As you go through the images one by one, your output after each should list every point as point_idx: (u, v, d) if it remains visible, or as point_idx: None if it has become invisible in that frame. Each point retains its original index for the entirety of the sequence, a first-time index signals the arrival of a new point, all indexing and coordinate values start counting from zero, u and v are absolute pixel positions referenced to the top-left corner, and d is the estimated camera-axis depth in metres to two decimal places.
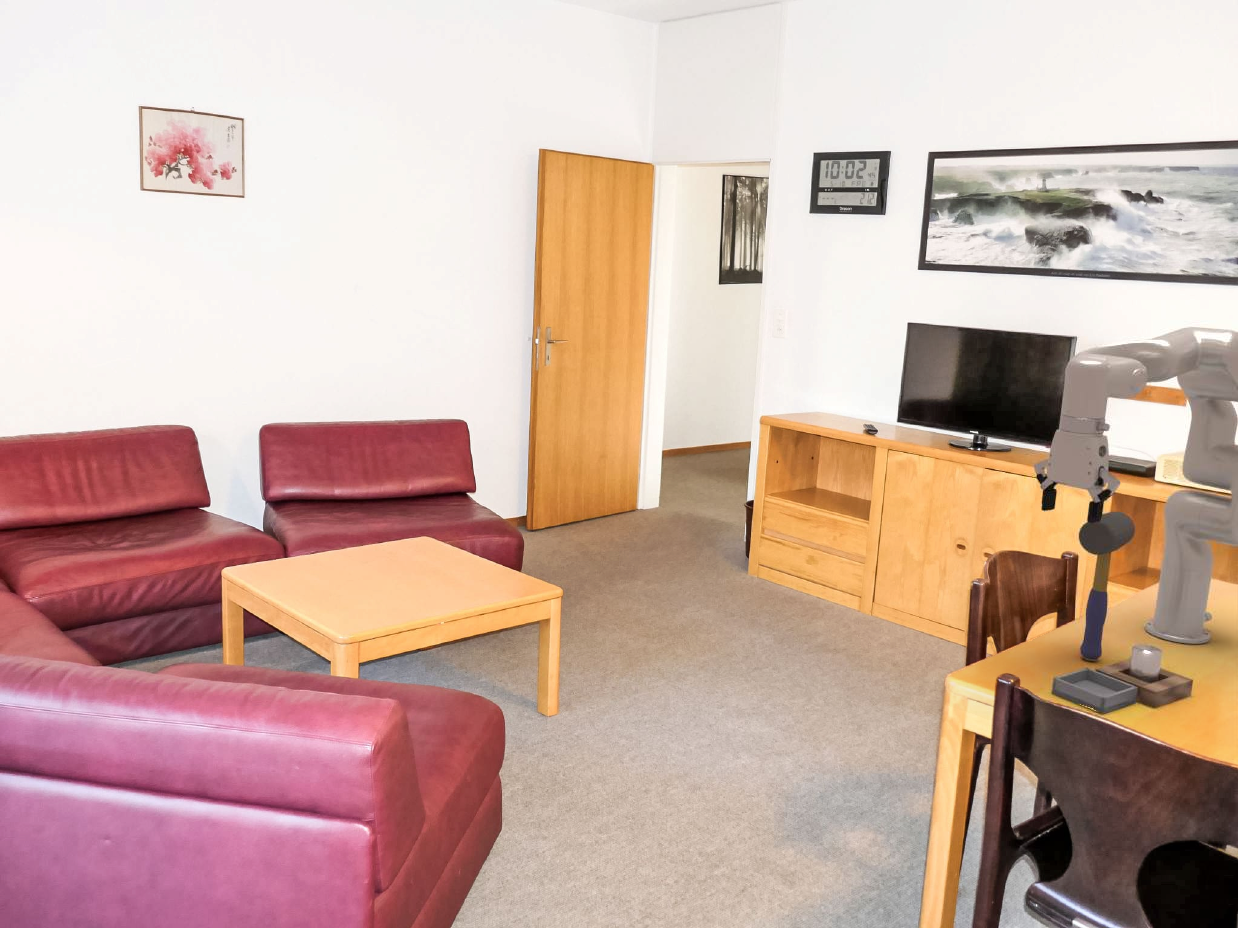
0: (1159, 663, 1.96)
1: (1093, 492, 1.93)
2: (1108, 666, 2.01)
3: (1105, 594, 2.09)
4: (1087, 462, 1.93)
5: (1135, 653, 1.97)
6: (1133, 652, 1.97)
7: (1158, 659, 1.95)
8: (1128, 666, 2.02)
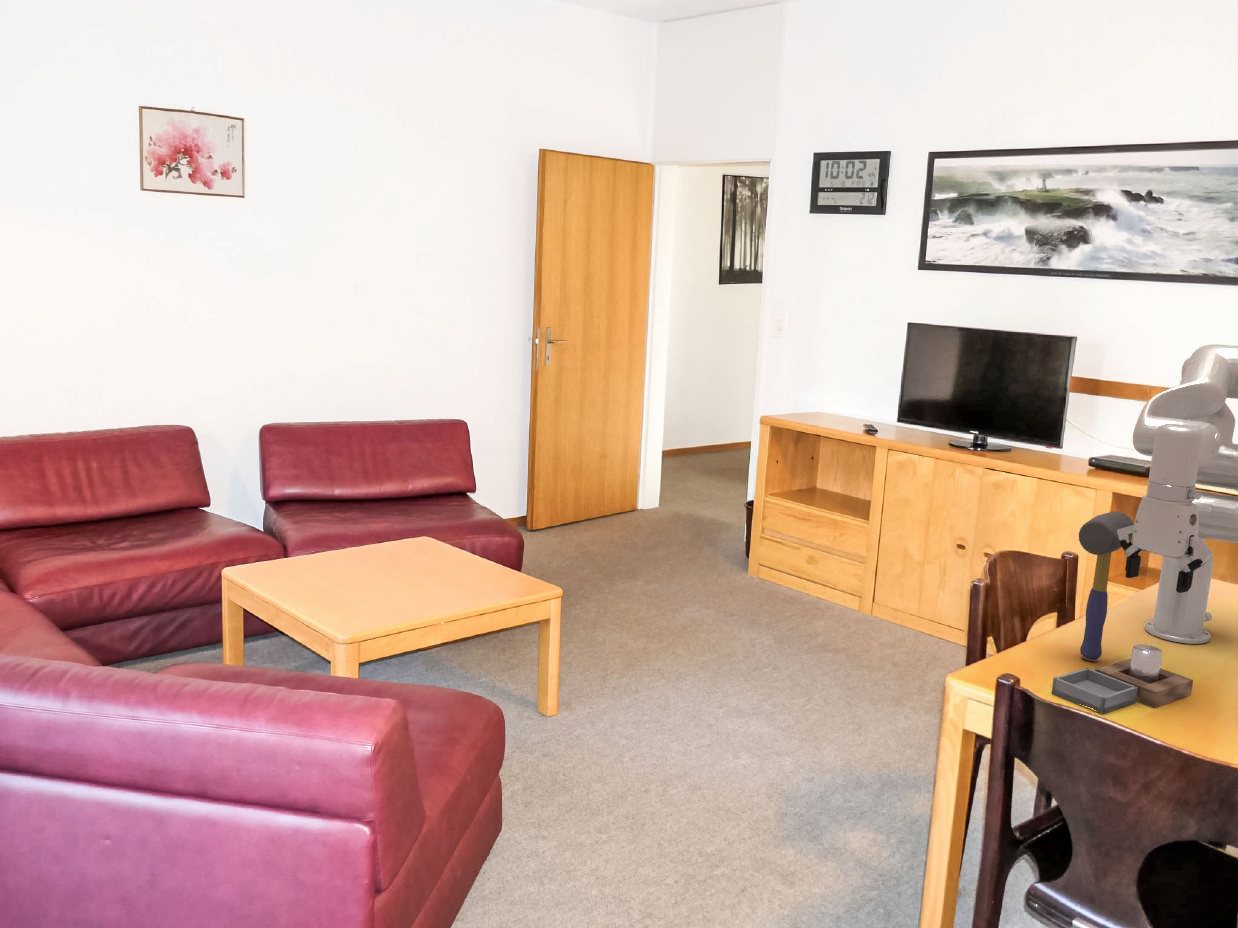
0: (1159, 663, 1.96)
1: (1183, 561, 1.88)
2: (1108, 666, 2.01)
3: (1105, 594, 2.09)
4: (1177, 531, 1.88)
5: (1135, 653, 1.97)
6: (1133, 652, 1.97)
7: (1158, 659, 1.95)
8: (1128, 666, 2.02)
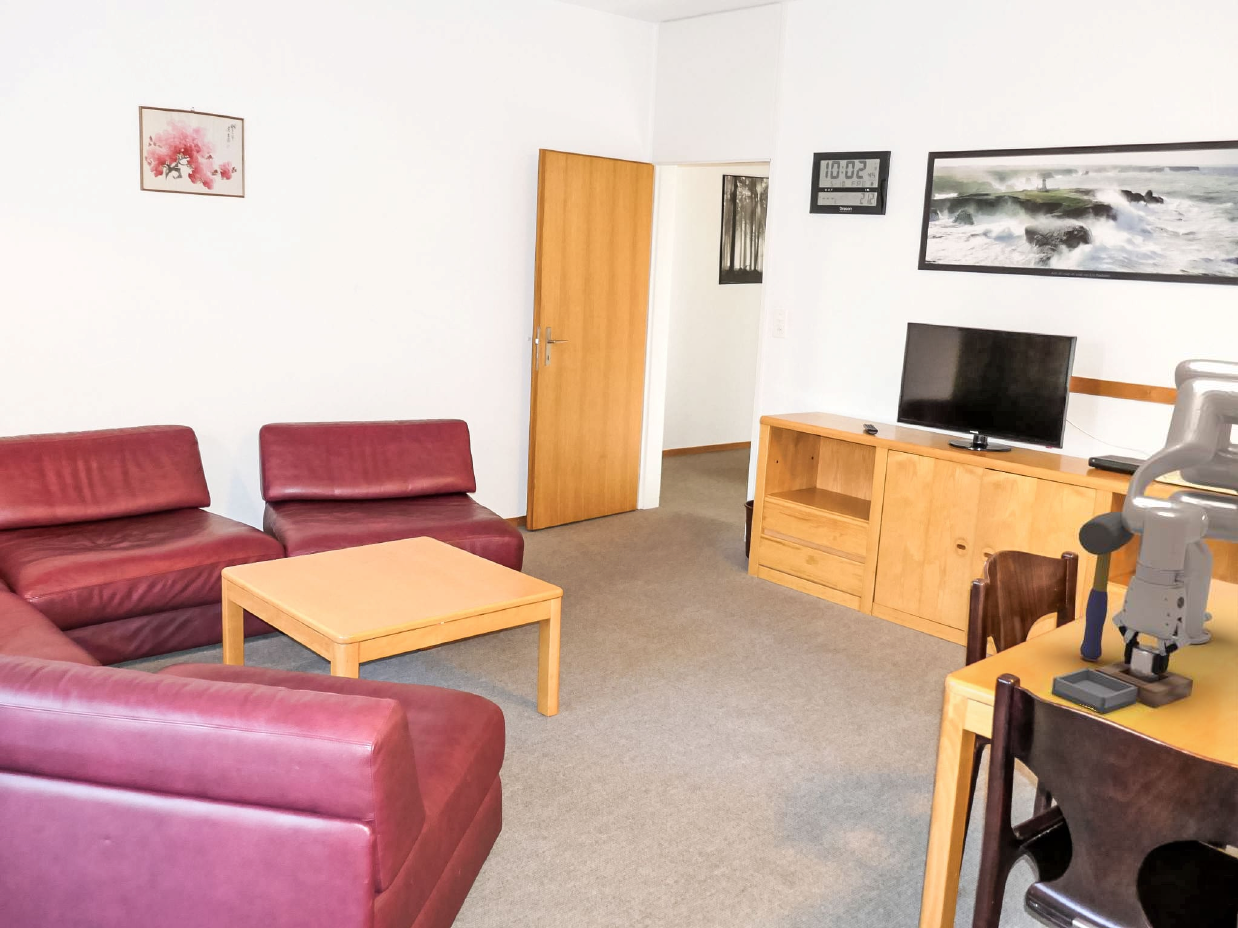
0: None
1: (1162, 645, 1.93)
2: (1108, 666, 2.01)
3: (1105, 594, 2.09)
4: (1165, 613, 1.91)
5: (1135, 653, 1.97)
6: (1133, 652, 1.97)
7: None
8: (1128, 666, 2.02)
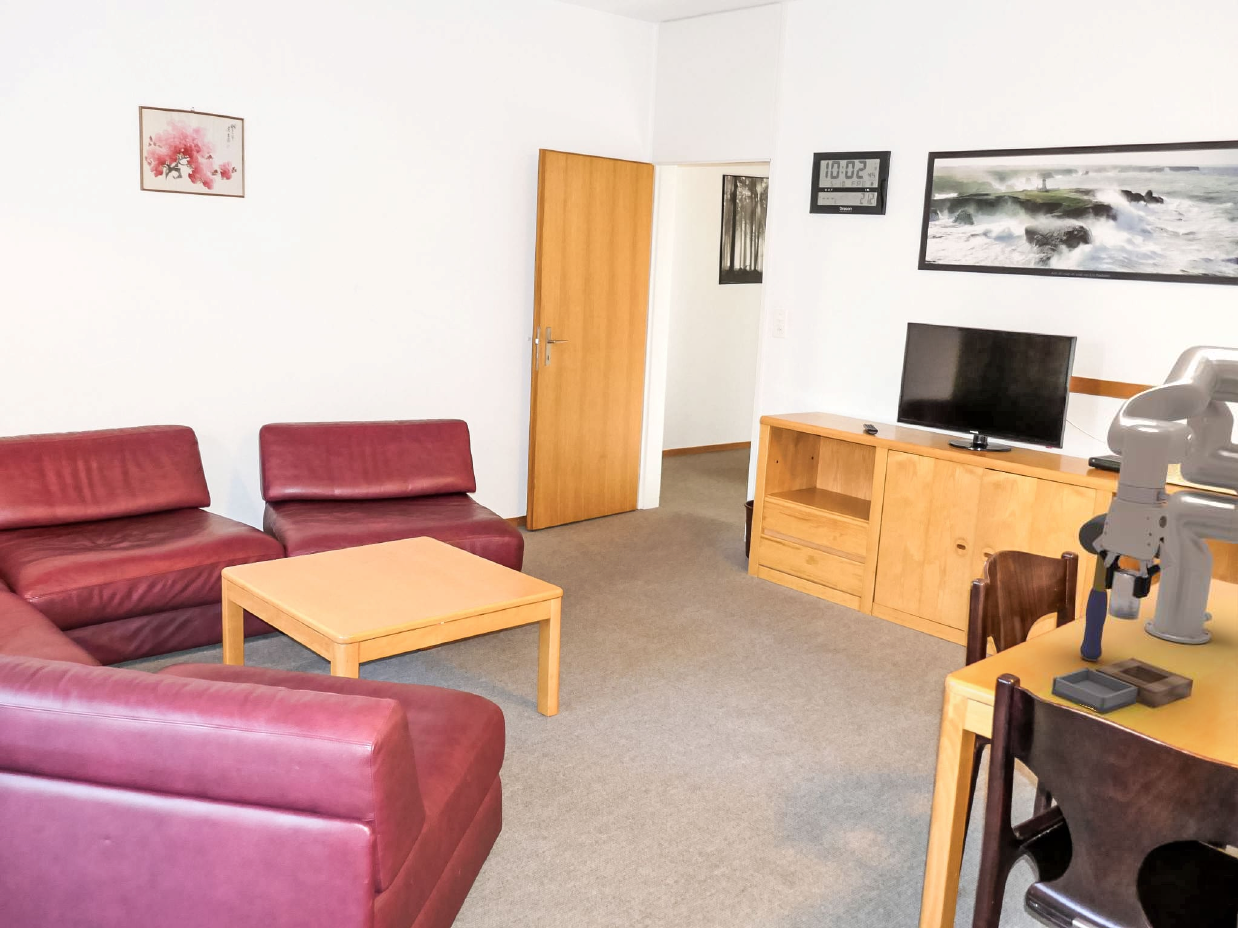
0: None
1: (1144, 567, 1.87)
2: (1108, 666, 2.01)
3: (1105, 594, 2.09)
4: (1147, 533, 1.85)
5: (1116, 576, 1.90)
6: (1114, 576, 1.91)
7: None
8: (1128, 666, 2.02)
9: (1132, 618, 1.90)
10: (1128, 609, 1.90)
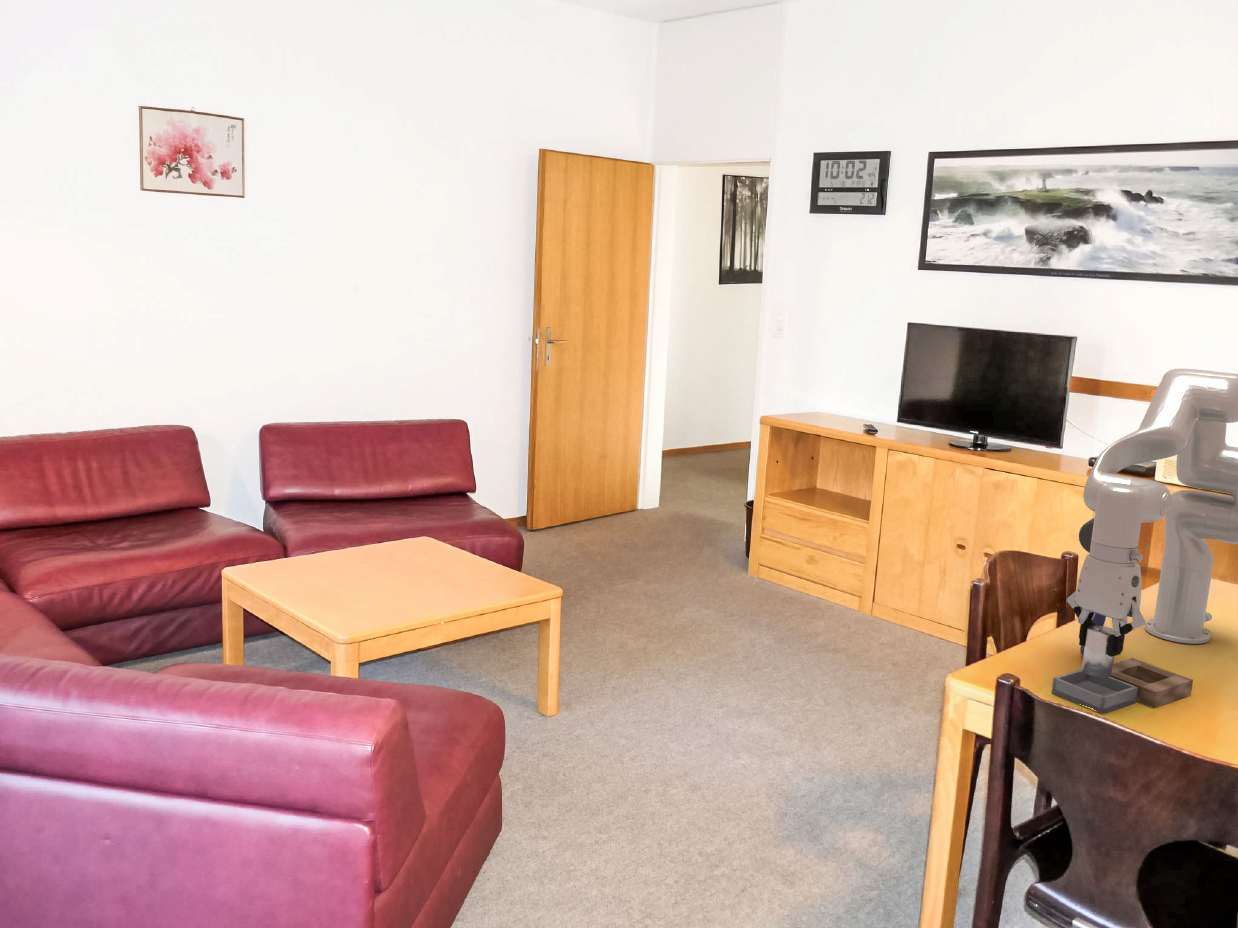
0: None
1: (1117, 626, 1.87)
2: None
3: None
4: (1119, 592, 1.85)
5: (1089, 633, 1.91)
6: (1087, 633, 1.91)
7: None
8: (1128, 666, 2.02)
9: (1105, 676, 1.90)
10: (1101, 667, 1.90)
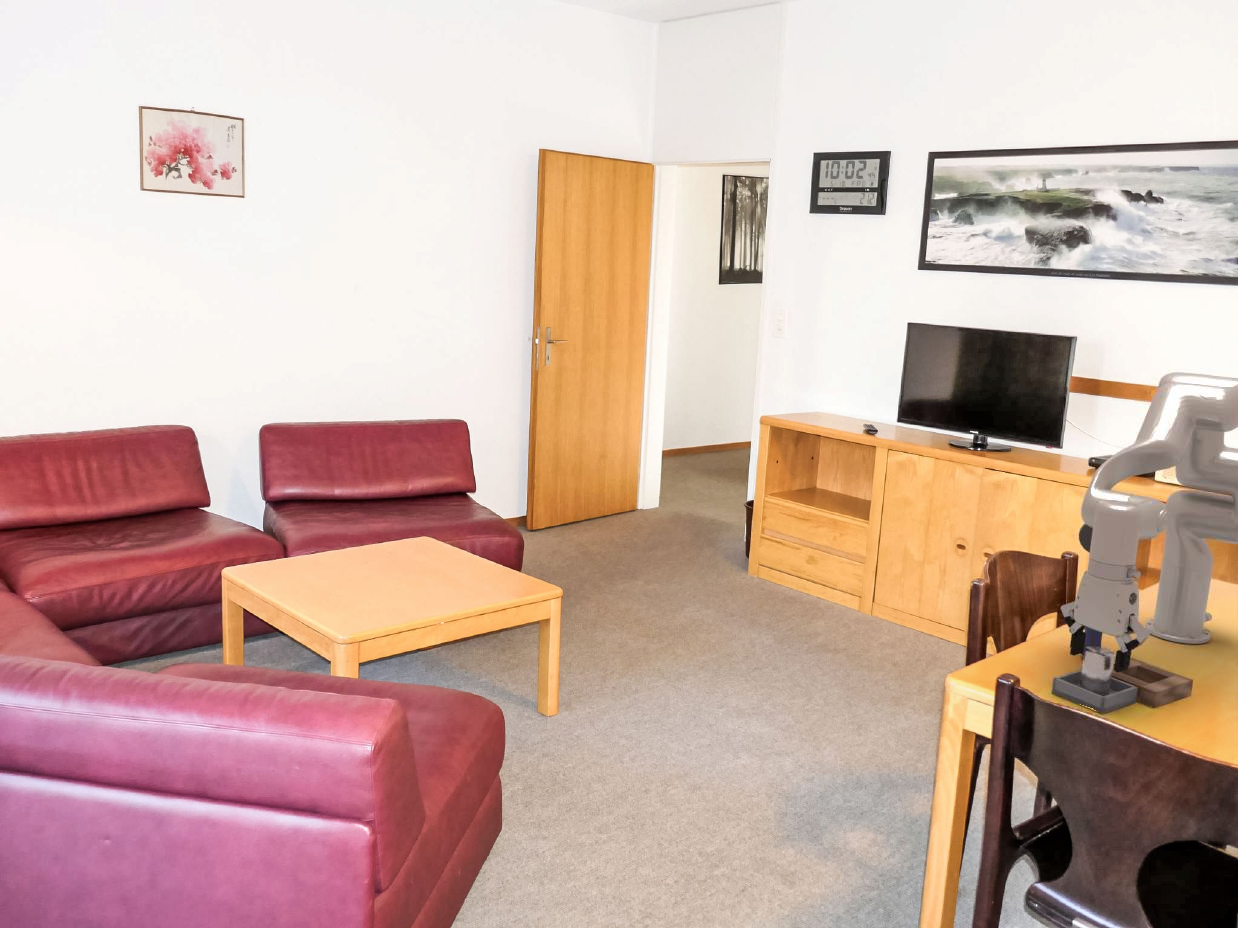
0: (1111, 666, 1.91)
1: (1121, 641, 1.87)
2: None
3: None
4: (1117, 609, 1.86)
5: (1087, 655, 1.92)
6: (1085, 654, 1.92)
7: (1110, 661, 1.90)
8: None
9: None
10: (1098, 688, 1.91)
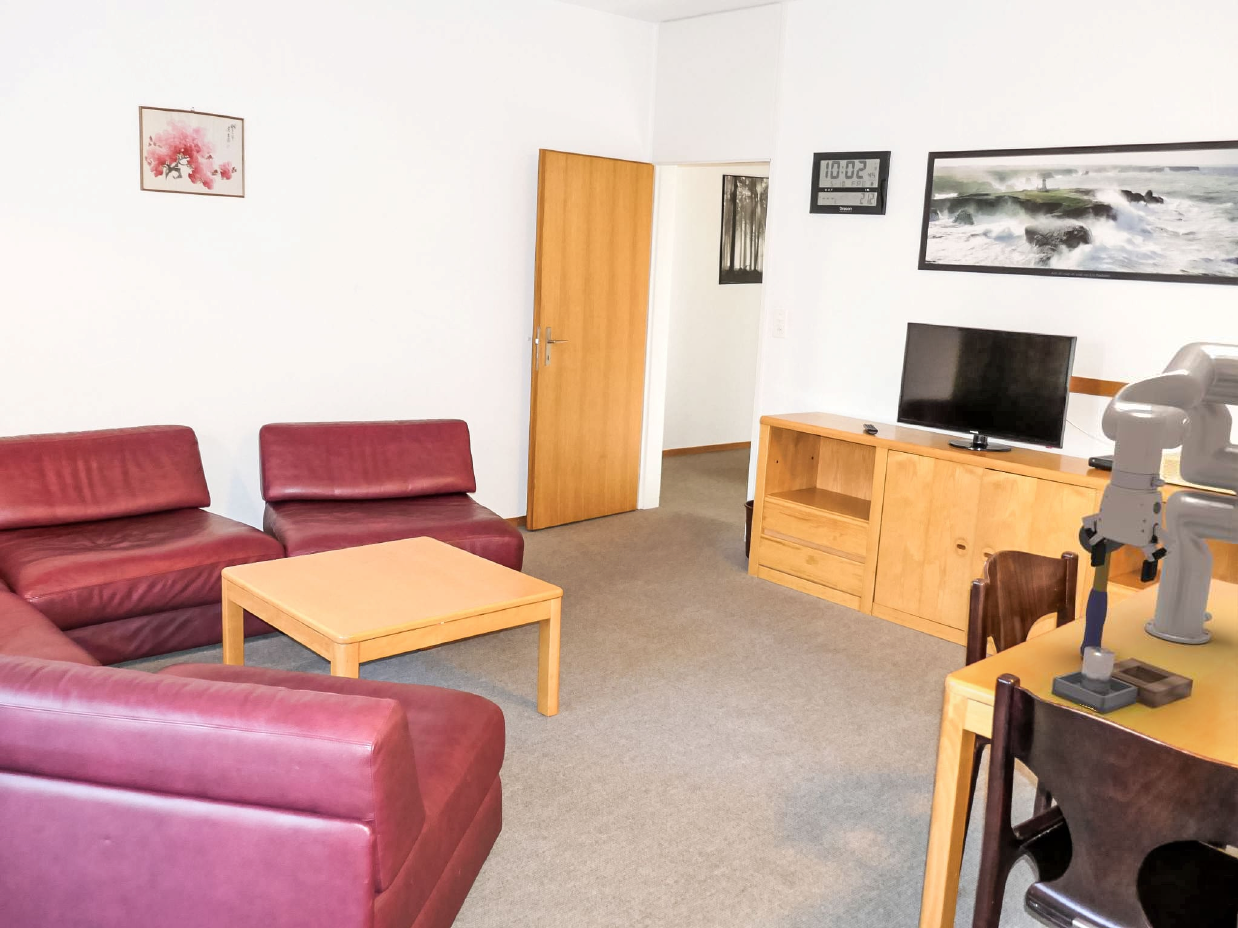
0: (1111, 666, 1.91)
1: (1147, 550, 1.84)
2: None
3: (1105, 594, 2.09)
4: (1141, 519, 1.83)
5: (1087, 655, 1.92)
6: (1085, 654, 1.92)
7: (1110, 661, 1.90)
8: (1128, 666, 2.02)
9: None
10: (1098, 688, 1.91)
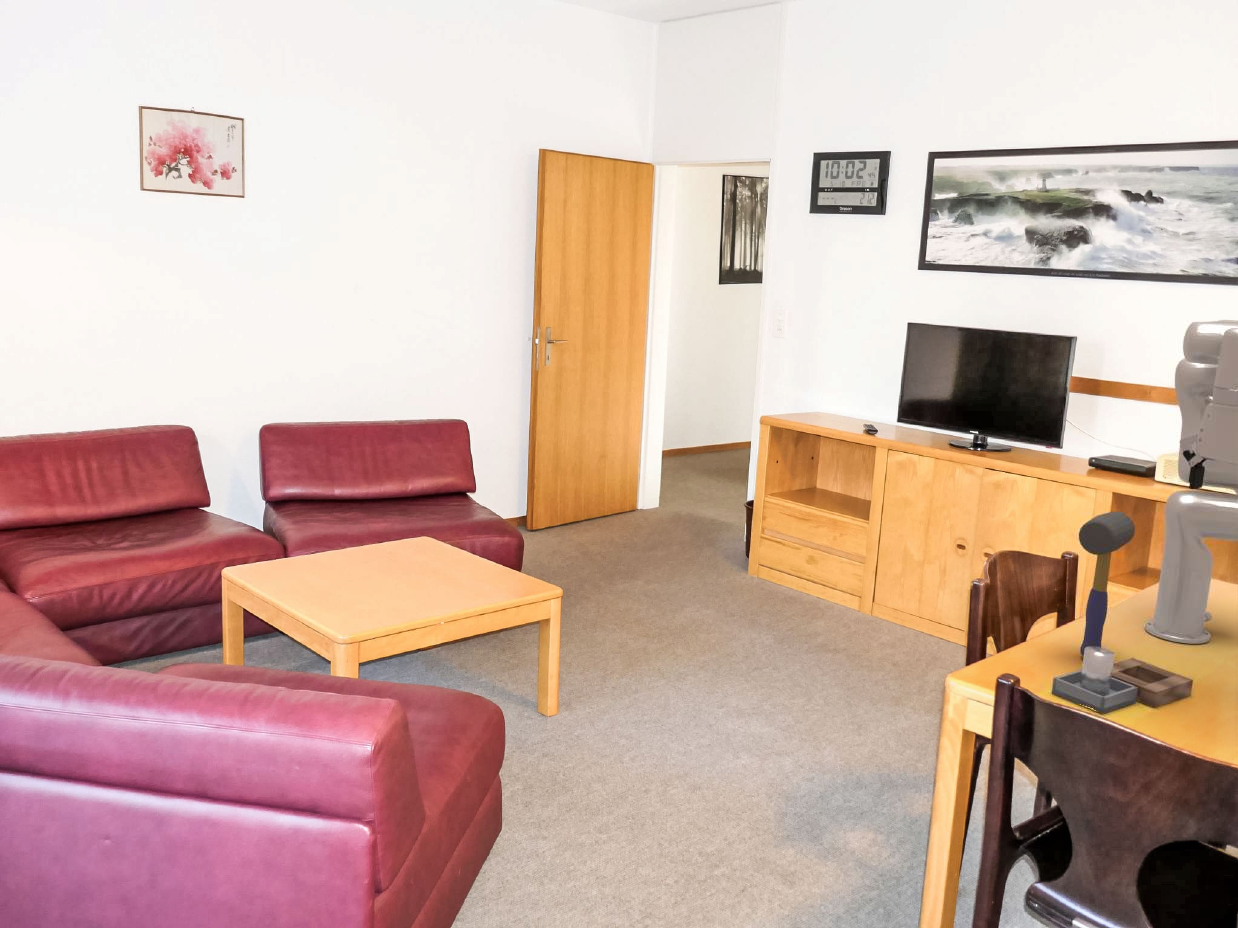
0: (1111, 666, 1.91)
1: None
2: None
3: (1105, 594, 2.09)
4: None
5: (1087, 655, 1.92)
6: (1085, 654, 1.92)
7: (1110, 661, 1.90)
8: (1128, 666, 2.02)
9: None
10: (1098, 688, 1.91)
